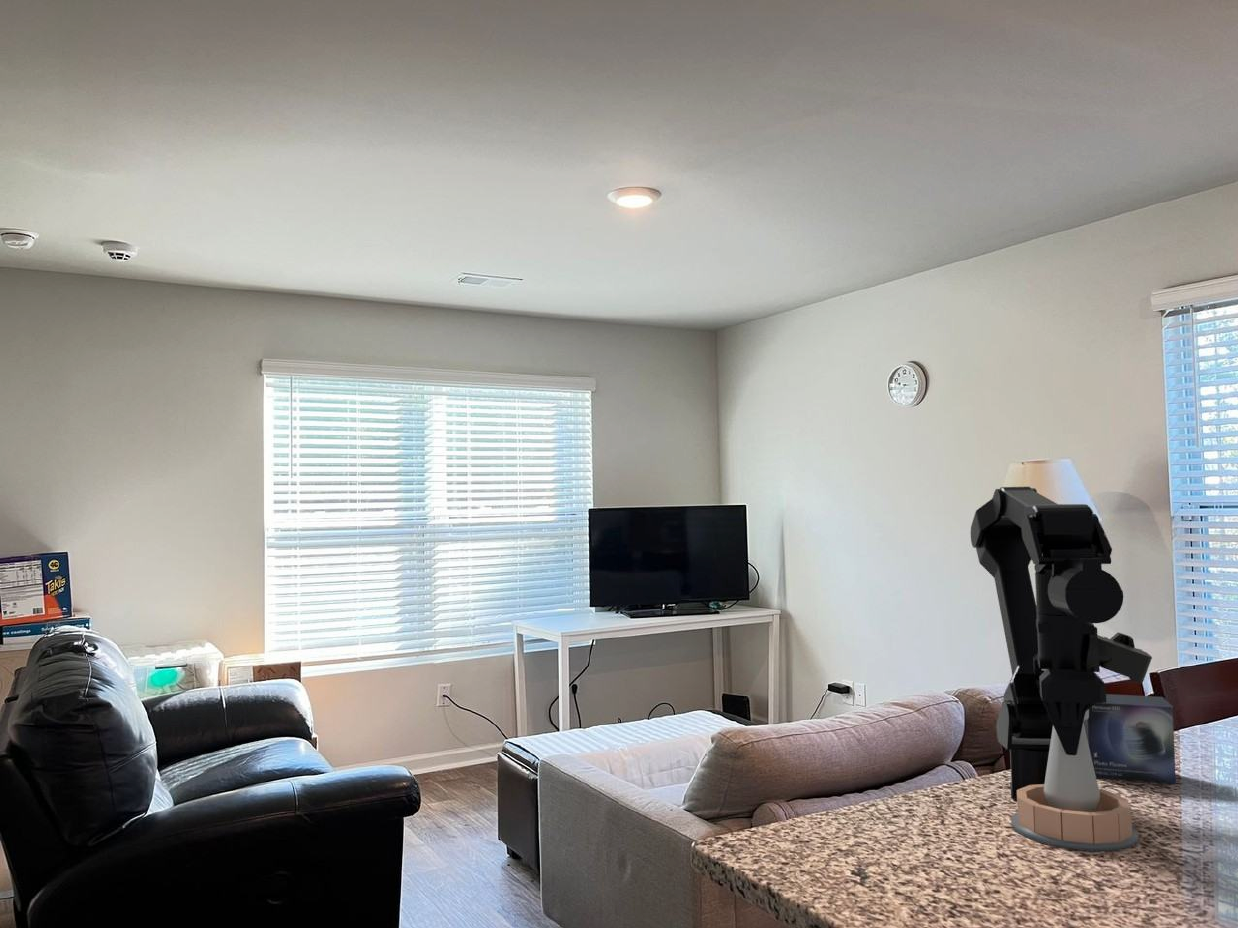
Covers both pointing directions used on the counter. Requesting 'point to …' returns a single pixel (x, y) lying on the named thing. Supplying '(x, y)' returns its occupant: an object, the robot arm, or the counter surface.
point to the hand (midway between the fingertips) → (1069, 750)
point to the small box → (1132, 738)
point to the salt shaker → (1071, 776)
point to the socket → (1075, 822)
